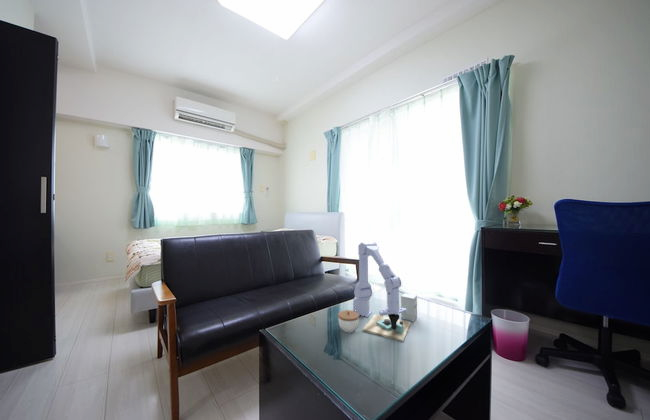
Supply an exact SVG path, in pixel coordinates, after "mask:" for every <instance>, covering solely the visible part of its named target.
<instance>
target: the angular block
mask: <svg viewBox="0 0 650 420" xmlns="http://www.w3.org/2000/svg"><path fill="white" fill-rule="evenodd" d="M386 319H387V318H386ZM384 320H385V319H383V320H381V321H378V322H376V324H377V325H379V326H380V327H382V328H384V329H386V330H391V329H392V327H391V321H390V325H386V324H384ZM393 330H394V329H393ZM395 331H397V332H399V333H400V334H401V333H404V332H403V325H401V324H399V323H396V329H395Z"/></svg>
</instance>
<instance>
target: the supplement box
mask: <svg viewBox="0 0 650 420" xmlns="http://www.w3.org/2000/svg"><path fill="white" fill-rule="evenodd" d="M400 308H406V309H407V313H400V317H401V319H403V320H405V321H407V320H408V321H409V322H415V320H416V319H417V318H418V295H416V294H412V293H406V292H405V293H404V292H403V294H402V295H401V296H400Z"/></svg>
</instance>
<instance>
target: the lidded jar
mask: <svg viewBox="0 0 650 420" xmlns="http://www.w3.org/2000/svg"><path fill="white" fill-rule="evenodd" d="M337 316H338V324H339V326H340V328H341V329H342V331H343V332H345V333H353V332H354V331H355V330H356V329H357V328H358V326H359V316H360V315H359V314H358V313H357V312H355V311H353V310H351V309H350V310H348V309H347V310H346V309H344V310H341V311H340V312H338V313H337Z"/></svg>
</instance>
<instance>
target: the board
mask: <svg viewBox="0 0 650 420" xmlns="http://www.w3.org/2000/svg"><path fill="white" fill-rule="evenodd" d="M386 318H387V319H386ZM383 319H385V320H384V324H386V325H390V318H389V316H385V315H383V316H380V315H379V314H373V316H372V317H371V318H370V319H369V321H368V322H367V323H366V324H365V326H364V327H363V328H362V332H365V333H369V334H373V335H376V336H379V337H383V338H387V339H391V340H395V341H400V342H404V341H405V339H406V336H407V334H408V332H409V329H410V327H411V324H412V323H411V322H412V321H407V320H404V319H403V320H402V319H398V321H397V323H399V324H401V325H403V332H404V333H401V334H400V333H399V332H397V331H395V330H393V329H391V330H386V329H384V328H382V327H380V326H379V325H377V324H376V322H378V321H381V320H383Z"/></svg>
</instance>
